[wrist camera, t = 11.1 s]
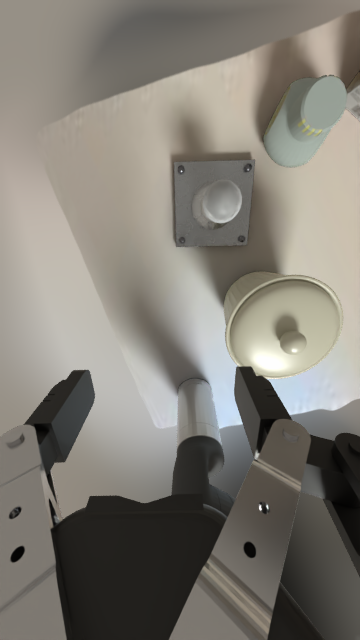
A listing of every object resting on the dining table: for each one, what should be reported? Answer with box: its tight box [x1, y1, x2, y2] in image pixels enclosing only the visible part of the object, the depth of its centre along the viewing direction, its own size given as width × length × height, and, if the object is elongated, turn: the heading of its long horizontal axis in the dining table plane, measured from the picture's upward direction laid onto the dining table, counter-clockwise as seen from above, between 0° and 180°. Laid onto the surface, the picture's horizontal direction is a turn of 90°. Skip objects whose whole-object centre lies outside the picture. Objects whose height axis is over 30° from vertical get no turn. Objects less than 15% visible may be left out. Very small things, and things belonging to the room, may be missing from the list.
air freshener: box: [263, 75, 347, 167], centre depth 33 cm, size 11×8×10 cm
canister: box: [224, 271, 343, 379], centre depth 40 cm, size 18×18×21 cm
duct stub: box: [200, 179, 242, 223], centre depth 36 cm, size 6×6×9 cm
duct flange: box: [174, 160, 255, 247], centre depth 41 cm, size 14×14×2 cm
